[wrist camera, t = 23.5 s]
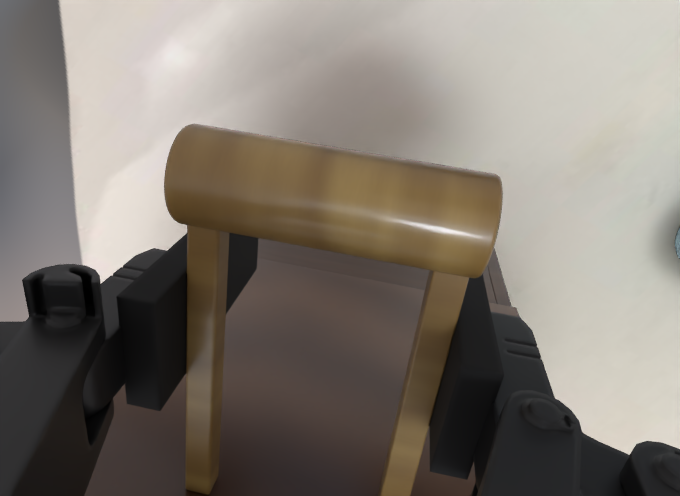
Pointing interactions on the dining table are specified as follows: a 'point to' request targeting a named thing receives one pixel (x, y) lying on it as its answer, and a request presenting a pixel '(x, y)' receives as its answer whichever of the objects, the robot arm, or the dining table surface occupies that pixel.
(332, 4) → the dining table surface
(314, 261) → the bin
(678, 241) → the cup
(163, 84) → the dining table surface
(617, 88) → the dining table surface
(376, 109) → the dining table surface
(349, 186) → the lid
